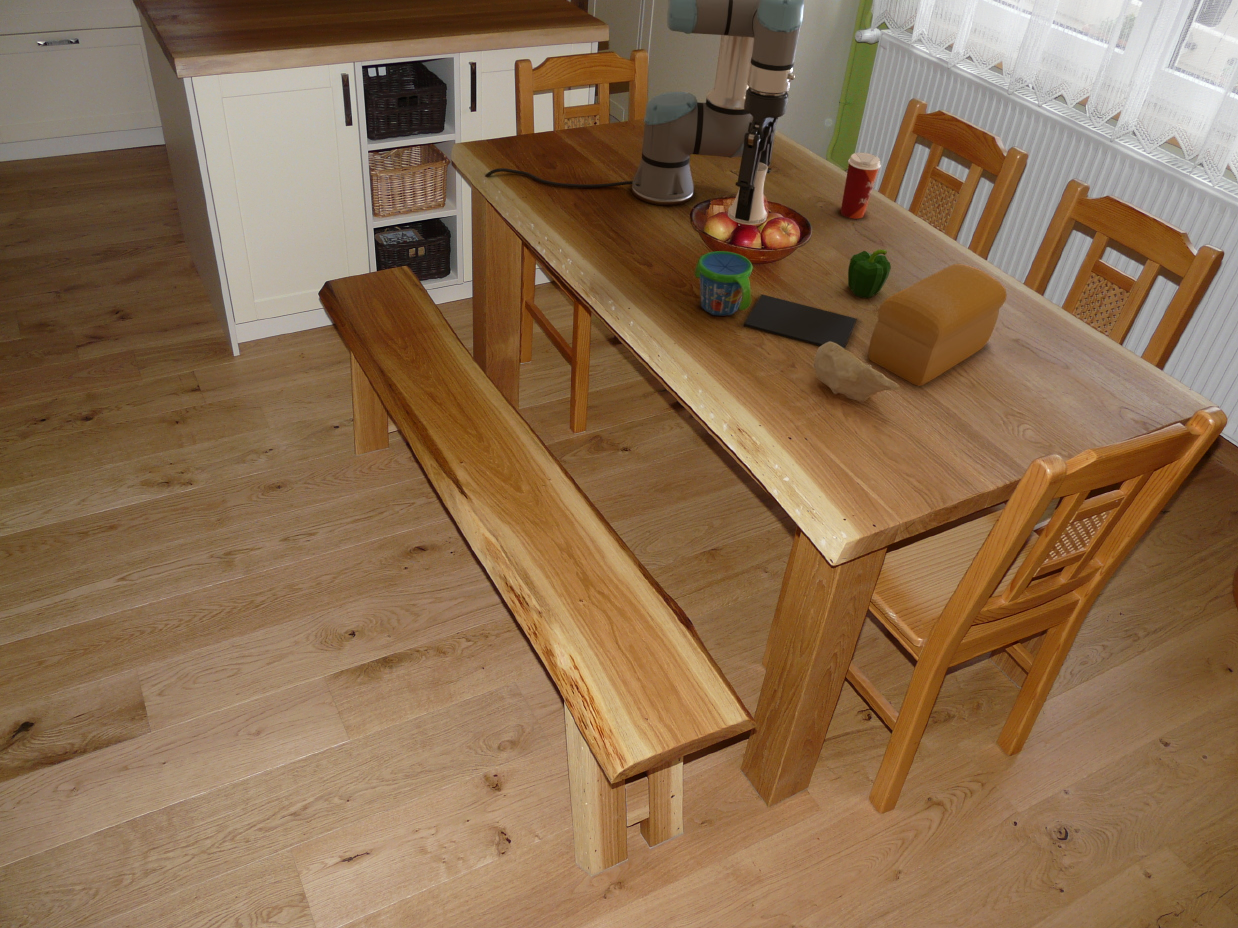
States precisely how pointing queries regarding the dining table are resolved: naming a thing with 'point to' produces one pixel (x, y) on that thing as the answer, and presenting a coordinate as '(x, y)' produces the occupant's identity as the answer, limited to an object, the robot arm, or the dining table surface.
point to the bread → (936, 323)
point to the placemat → (800, 322)
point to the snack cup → (724, 282)
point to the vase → (758, 207)
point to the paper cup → (859, 184)
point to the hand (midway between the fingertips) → (747, 212)
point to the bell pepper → (868, 273)
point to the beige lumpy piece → (849, 373)
